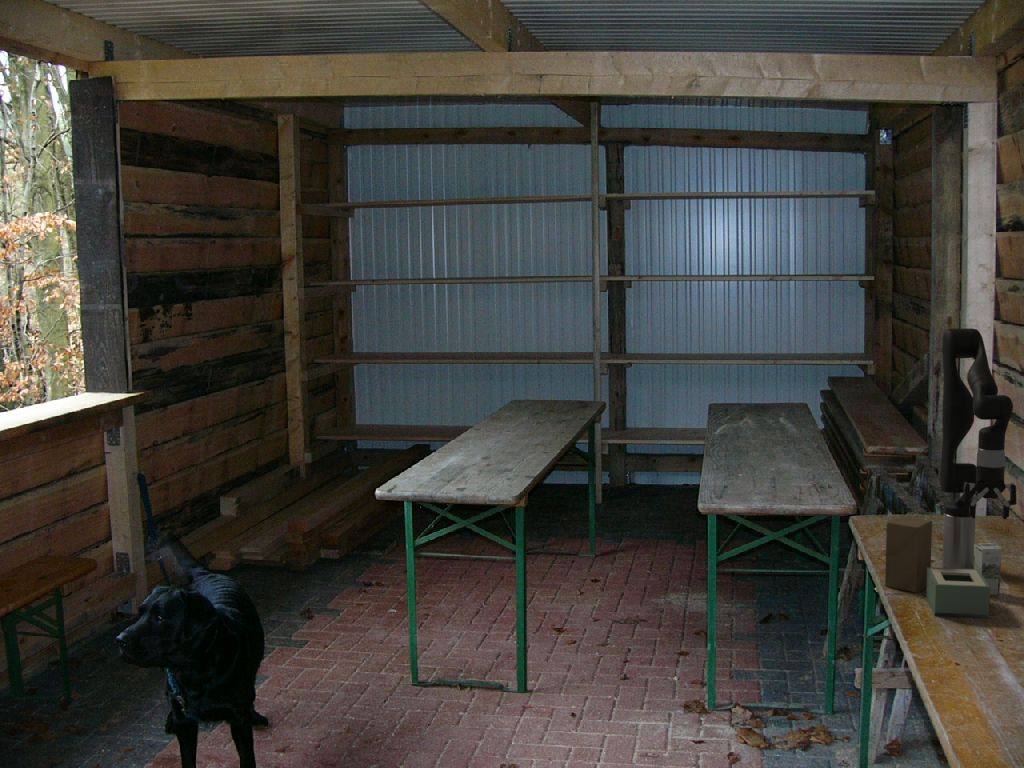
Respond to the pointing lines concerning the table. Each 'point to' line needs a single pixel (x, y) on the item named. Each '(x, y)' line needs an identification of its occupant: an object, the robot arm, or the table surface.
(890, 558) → the wooden block
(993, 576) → the syrup box
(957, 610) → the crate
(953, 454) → the robot arm
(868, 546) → the table surface
